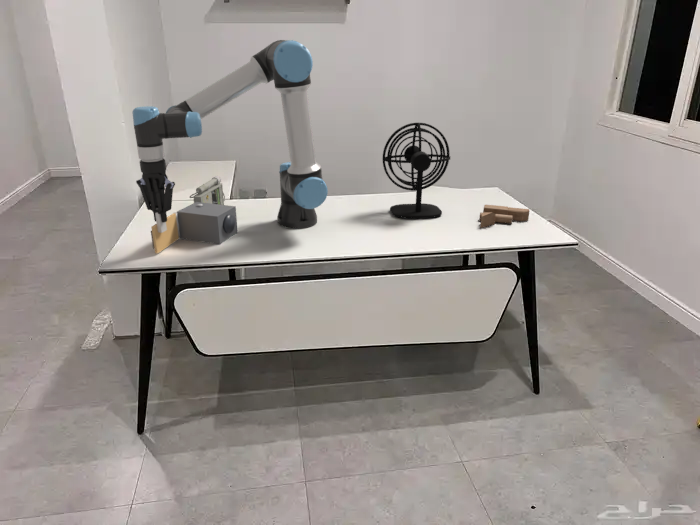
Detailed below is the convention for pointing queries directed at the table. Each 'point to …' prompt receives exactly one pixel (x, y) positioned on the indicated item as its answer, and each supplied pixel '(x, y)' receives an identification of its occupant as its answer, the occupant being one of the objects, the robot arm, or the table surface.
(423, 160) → the desk fan
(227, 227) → the camera housing
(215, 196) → the geiger counter
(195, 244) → the table surface
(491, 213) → the wooden block set
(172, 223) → the side door
